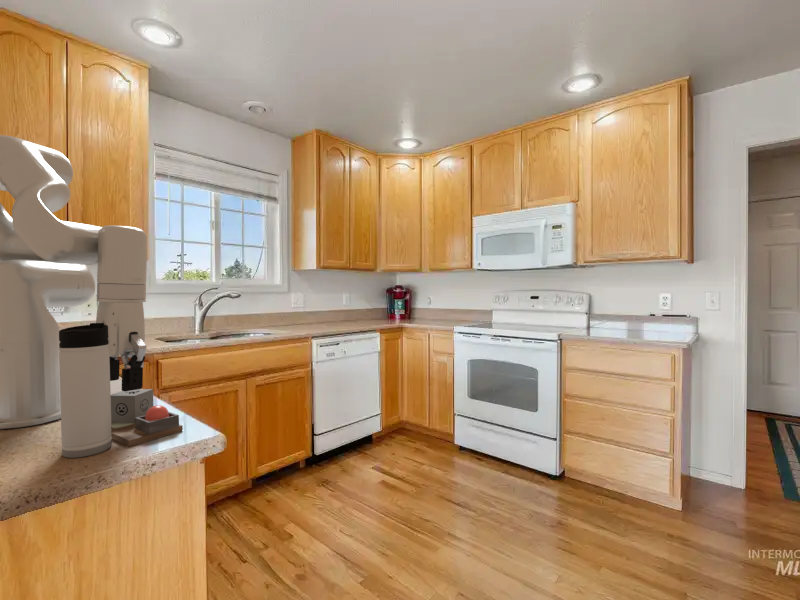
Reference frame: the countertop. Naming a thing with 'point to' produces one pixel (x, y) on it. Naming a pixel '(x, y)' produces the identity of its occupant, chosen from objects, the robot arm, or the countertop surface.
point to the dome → (156, 413)
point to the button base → (145, 429)
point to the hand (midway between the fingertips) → (120, 385)
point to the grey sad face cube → (130, 405)
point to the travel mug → (85, 390)
